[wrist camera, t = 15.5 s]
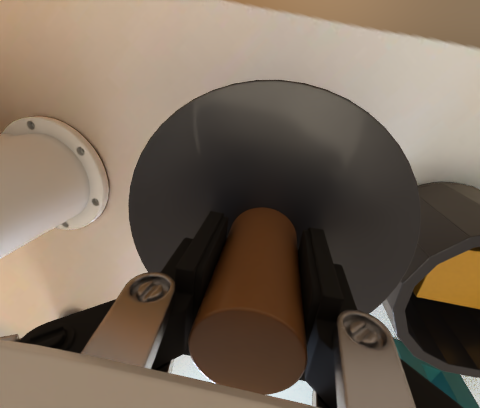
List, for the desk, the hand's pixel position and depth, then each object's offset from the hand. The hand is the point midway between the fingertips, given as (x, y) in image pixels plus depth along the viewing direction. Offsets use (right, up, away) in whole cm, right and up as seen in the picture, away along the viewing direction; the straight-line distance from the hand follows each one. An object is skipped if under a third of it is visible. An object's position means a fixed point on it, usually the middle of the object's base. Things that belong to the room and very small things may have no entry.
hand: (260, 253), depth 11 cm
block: (+17, -2, +14) cm, 22 cm away
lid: (0, +1, +2) cm, 2 cm away
